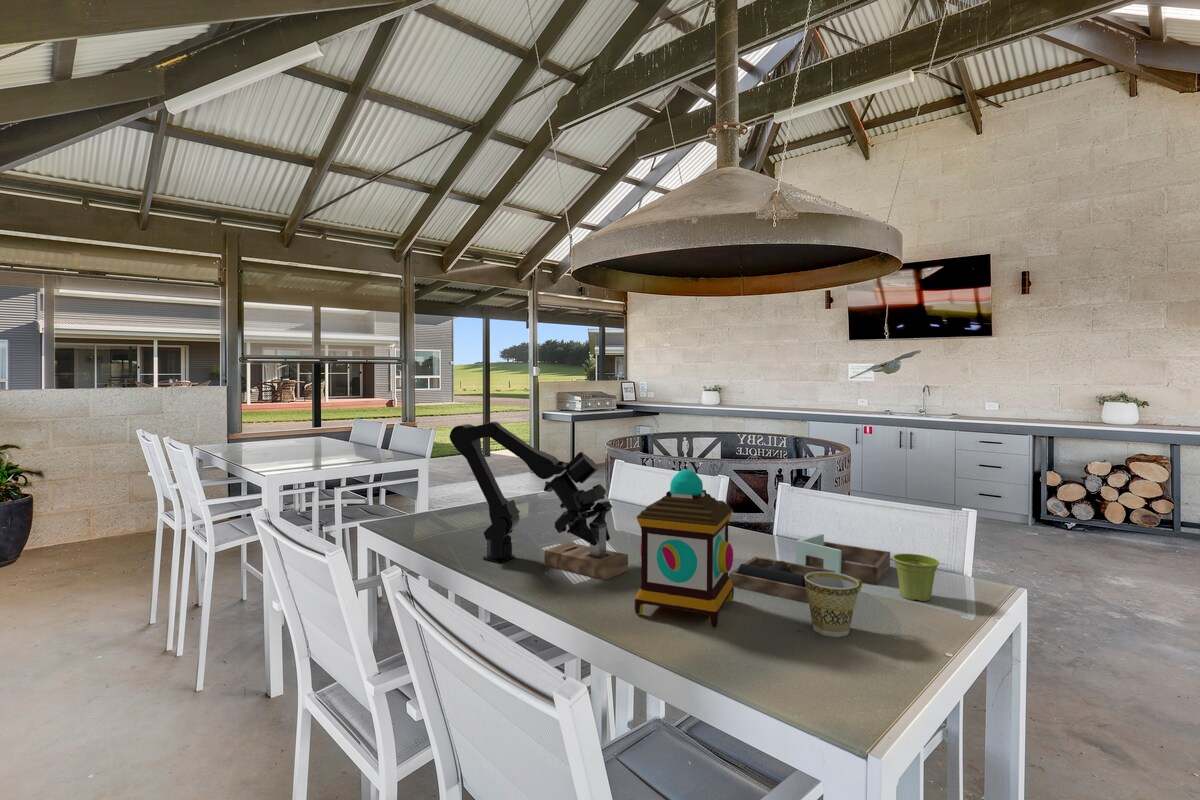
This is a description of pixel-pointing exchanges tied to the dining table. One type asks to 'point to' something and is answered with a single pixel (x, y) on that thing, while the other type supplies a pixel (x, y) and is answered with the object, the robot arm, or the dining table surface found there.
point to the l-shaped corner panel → (818, 552)
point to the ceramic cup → (831, 601)
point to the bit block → (586, 561)
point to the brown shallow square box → (860, 556)
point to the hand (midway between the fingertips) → (602, 542)
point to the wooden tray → (773, 586)
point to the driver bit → (598, 539)
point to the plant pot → (915, 575)
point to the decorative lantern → (686, 550)
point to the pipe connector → (774, 573)
